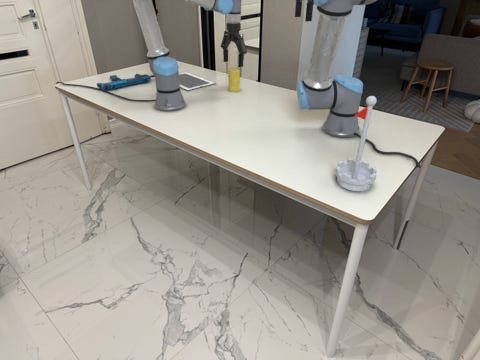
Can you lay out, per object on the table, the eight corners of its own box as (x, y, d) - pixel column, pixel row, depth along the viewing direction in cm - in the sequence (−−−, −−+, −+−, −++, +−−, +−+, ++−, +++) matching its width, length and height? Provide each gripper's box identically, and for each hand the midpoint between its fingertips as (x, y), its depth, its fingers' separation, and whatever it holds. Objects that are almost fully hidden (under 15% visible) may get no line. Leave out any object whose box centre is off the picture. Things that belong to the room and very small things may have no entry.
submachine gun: (141, 68, 225) (159, 74, 208) (142, 74, 227) (160, 80, 210) (89, 78, 206) (104, 86, 190) (91, 84, 208) (106, 92, 192)
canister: (235, 87, 201) (235, 67, 195) (242, 90, 196) (242, 70, 190) (226, 89, 198) (226, 69, 192) (232, 92, 193) (232, 72, 187)
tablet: (159, 78, 216) (159, 77, 215) (186, 72, 227) (186, 71, 226) (187, 90, 195) (187, 90, 195) (215, 83, 206) (215, 82, 206)
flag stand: (357, 168, 122) (375, 86, 106) (382, 188, 112) (406, 100, 96) (326, 176, 118) (340, 91, 102) (349, 196, 108) (368, 106, 92)
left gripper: (254, 25, 171) (252, 68, 183) (225, 19, 188) (225, 58, 199) (243, 26, 167) (241, 70, 179) (214, 20, 184) (214, 60, 195)
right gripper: (289, -37, 153) (286, 15, 164) (310, -36, 132) (304, 23, 144) (305, -37, 154) (301, 15, 166) (328, -36, 134) (321, 22, 145)
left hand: (233, 64), depth 189 cm, fingers open, 13 cm apart
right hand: (302, 19), depth 155 cm, fingers open, 13 cm apart
